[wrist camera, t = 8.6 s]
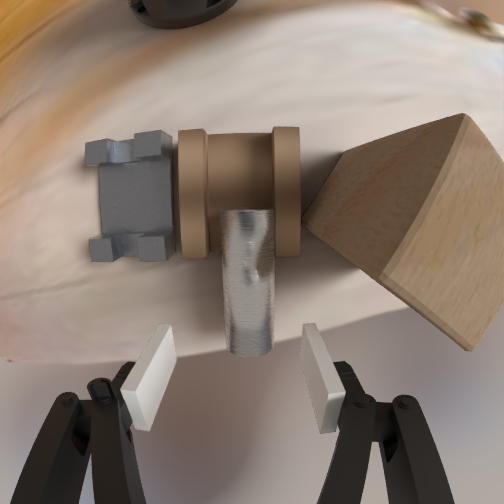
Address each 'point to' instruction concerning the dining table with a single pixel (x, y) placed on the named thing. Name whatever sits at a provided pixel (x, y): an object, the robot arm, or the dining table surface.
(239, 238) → the axle
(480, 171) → the wooden block
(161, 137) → the v block
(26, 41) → the dining table surface
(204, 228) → the wooden clevis bracket
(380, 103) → the dining table surface
